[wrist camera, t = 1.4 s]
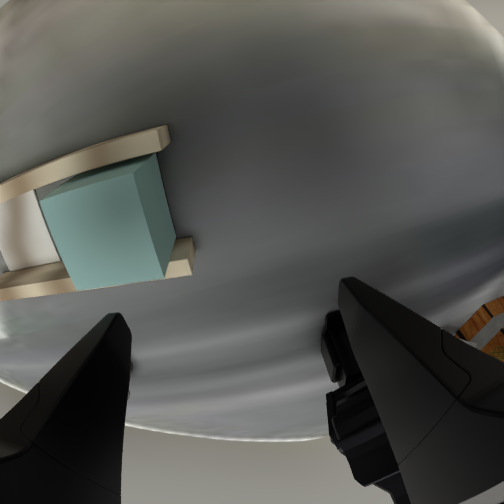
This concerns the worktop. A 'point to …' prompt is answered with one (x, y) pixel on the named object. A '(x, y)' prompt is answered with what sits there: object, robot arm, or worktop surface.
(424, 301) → the worktop surface
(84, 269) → the block
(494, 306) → the mug
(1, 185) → the chute
